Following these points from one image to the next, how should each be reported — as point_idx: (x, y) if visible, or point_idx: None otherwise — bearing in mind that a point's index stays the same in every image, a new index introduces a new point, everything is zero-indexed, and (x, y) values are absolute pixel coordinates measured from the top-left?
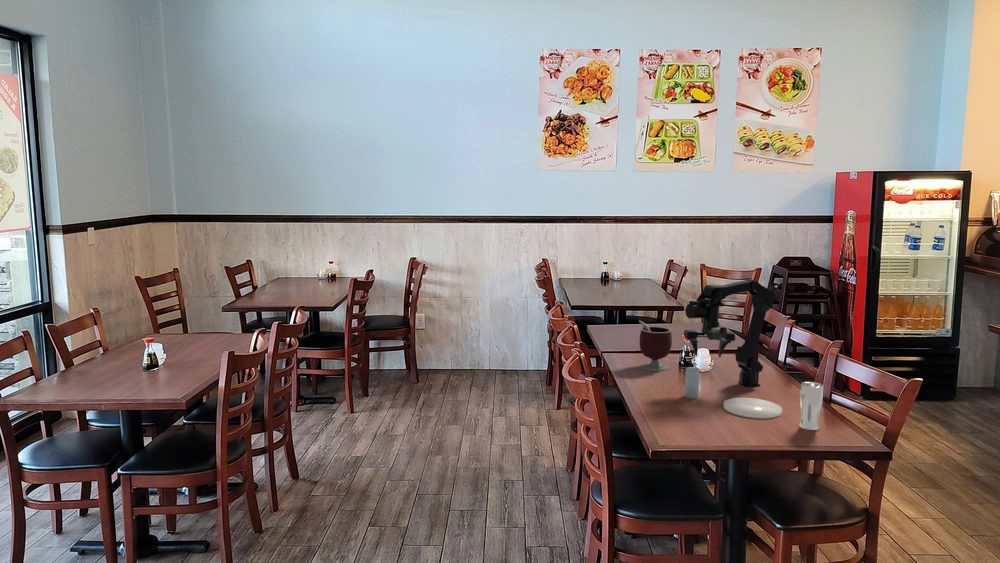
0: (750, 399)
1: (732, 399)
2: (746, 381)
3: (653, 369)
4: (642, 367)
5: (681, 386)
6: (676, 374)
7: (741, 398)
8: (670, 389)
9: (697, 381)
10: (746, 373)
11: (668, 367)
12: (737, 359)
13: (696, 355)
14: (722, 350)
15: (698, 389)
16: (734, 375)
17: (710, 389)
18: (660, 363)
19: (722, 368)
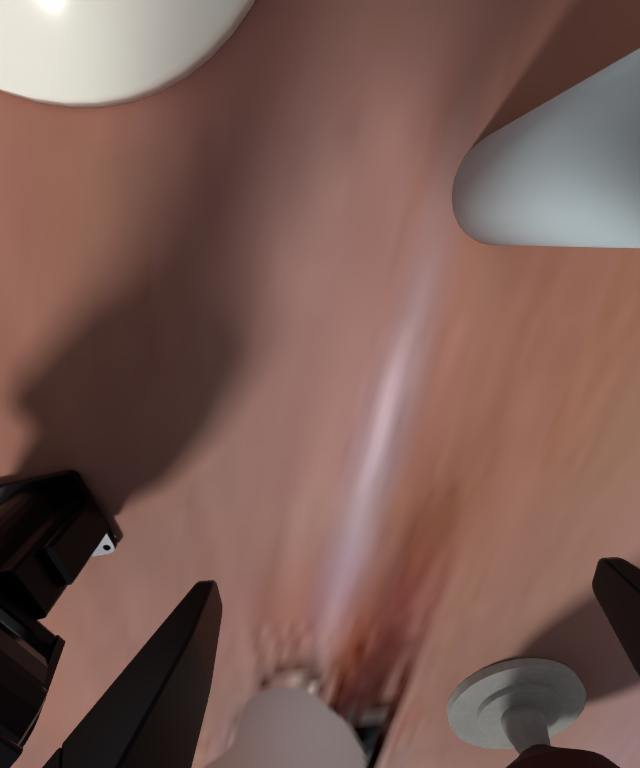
0: (17, 34)
1: (190, 13)
2: (54, 507)
3: (545, 666)
4: (583, 687)
5: (489, 428)
6: (442, 624)
7: (103, 62)
8: (588, 356)
9: (572, 89)
10: (15, 552)
11: (457, 699)
12: (20, 692)
13: (623, 567)
14: (103, 721)
15: (489, 153)
16: (134, 644)
17: (315, 387)
18: (475, 740)
19: None
